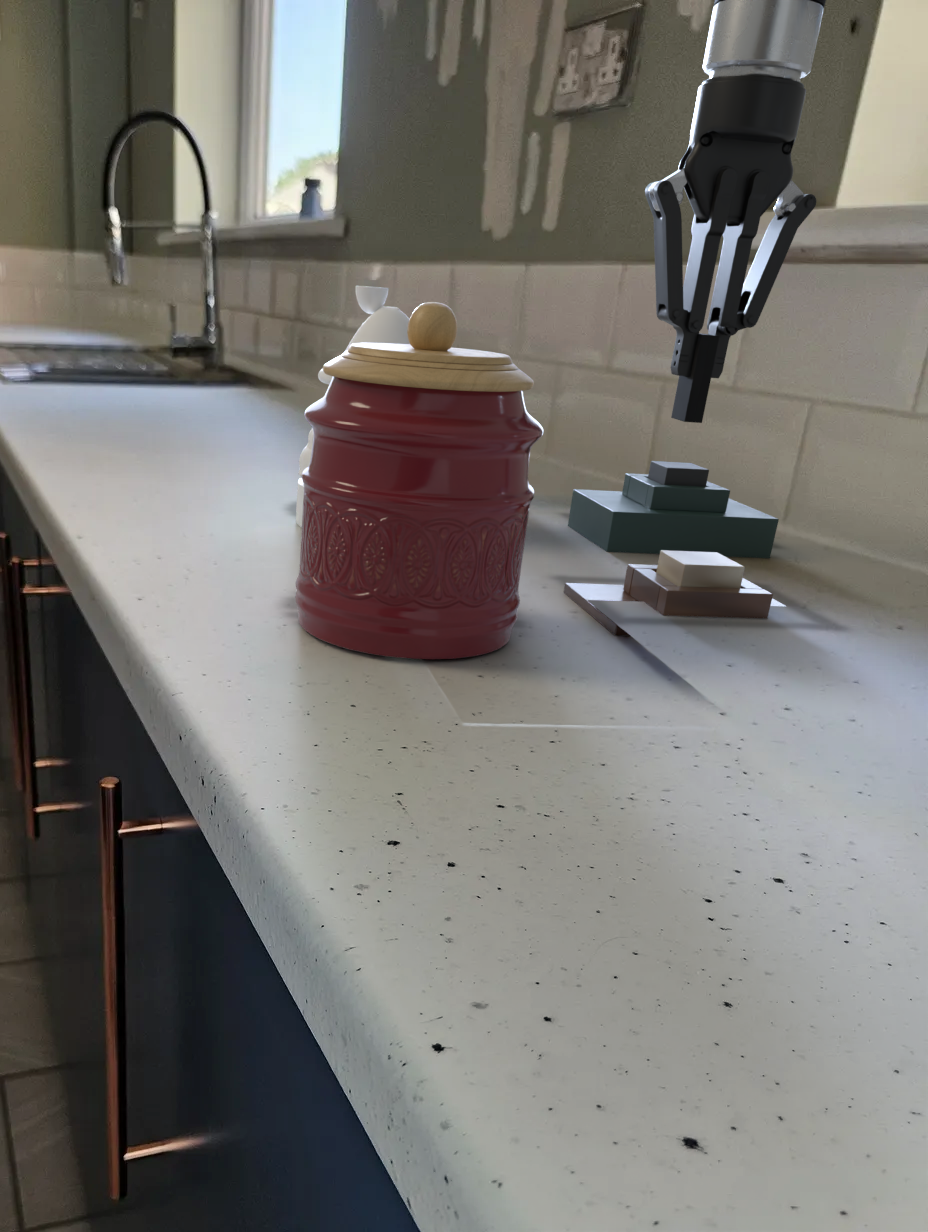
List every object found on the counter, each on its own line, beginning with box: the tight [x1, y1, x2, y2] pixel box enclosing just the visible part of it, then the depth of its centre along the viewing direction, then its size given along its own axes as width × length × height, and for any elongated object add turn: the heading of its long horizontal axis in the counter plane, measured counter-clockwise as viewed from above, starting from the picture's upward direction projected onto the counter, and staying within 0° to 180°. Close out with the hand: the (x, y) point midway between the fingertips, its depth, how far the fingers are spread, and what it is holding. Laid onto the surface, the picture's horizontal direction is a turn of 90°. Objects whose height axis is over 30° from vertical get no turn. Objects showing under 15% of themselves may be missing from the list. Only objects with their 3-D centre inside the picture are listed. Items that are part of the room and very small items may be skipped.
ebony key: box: [648, 460, 710, 487], centre depth 93 cm, size 4×4×2 cm
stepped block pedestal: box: [563, 563, 786, 637], centre depth 73 cm, size 14×10×2 cm
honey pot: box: [295, 285, 410, 528], centre depth 90 cm, size 13×13×18 cm
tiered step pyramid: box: [567, 472, 780, 559], centre depth 94 cm, size 14×10×5 cm
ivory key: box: [656, 550, 746, 588], centre depth 72 cm, size 4×4×2 cm
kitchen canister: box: [294, 301, 545, 660], centre depth 62 cm, size 13×13×18 cm
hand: (686, 419), depth 91 cm, fingers closed
